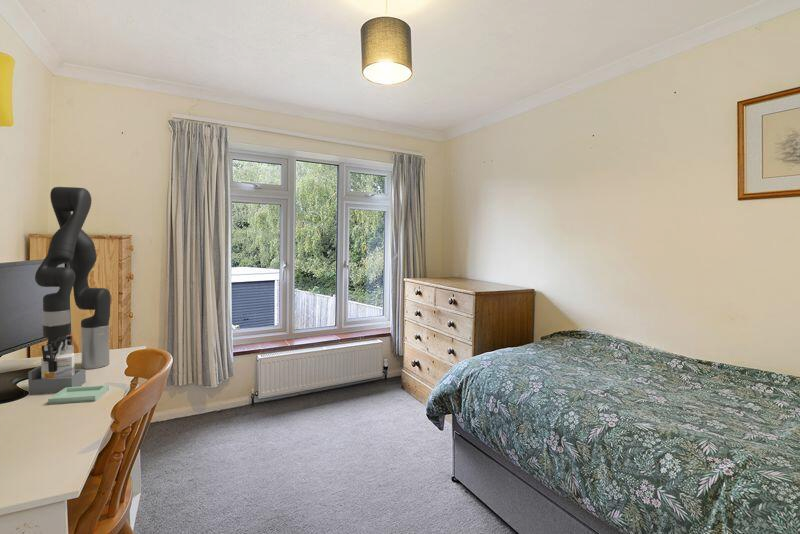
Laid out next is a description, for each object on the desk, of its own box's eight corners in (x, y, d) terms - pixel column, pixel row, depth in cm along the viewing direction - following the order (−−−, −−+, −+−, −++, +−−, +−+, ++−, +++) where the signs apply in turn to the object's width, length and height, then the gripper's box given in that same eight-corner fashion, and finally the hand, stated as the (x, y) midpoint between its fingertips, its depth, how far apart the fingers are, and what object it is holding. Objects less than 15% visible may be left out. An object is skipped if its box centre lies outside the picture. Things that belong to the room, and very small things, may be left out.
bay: (45, 384, 139) (45, 363, 139) (85, 382, 143) (85, 361, 142) (28, 394, 130) (28, 371, 130) (71, 391, 134) (71, 369, 133)
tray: (65, 392, 133) (65, 387, 133) (108, 389, 137) (108, 384, 137) (48, 404, 123) (48, 399, 123) (95, 401, 127) (95, 395, 127)
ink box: (41, 392, 132) (39, 351, 131) (44, 387, 136) (43, 347, 135) (72, 387, 137) (71, 347, 136) (75, 383, 141) (74, 344, 140)
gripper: (56, 318, 141) (57, 362, 142) (30, 327, 127) (32, 376, 128) (80, 318, 143) (81, 361, 144) (57, 326, 129) (59, 374, 130)
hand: (58, 368), depth 136 cm, fingers closed on ink box, 6 cm apart
